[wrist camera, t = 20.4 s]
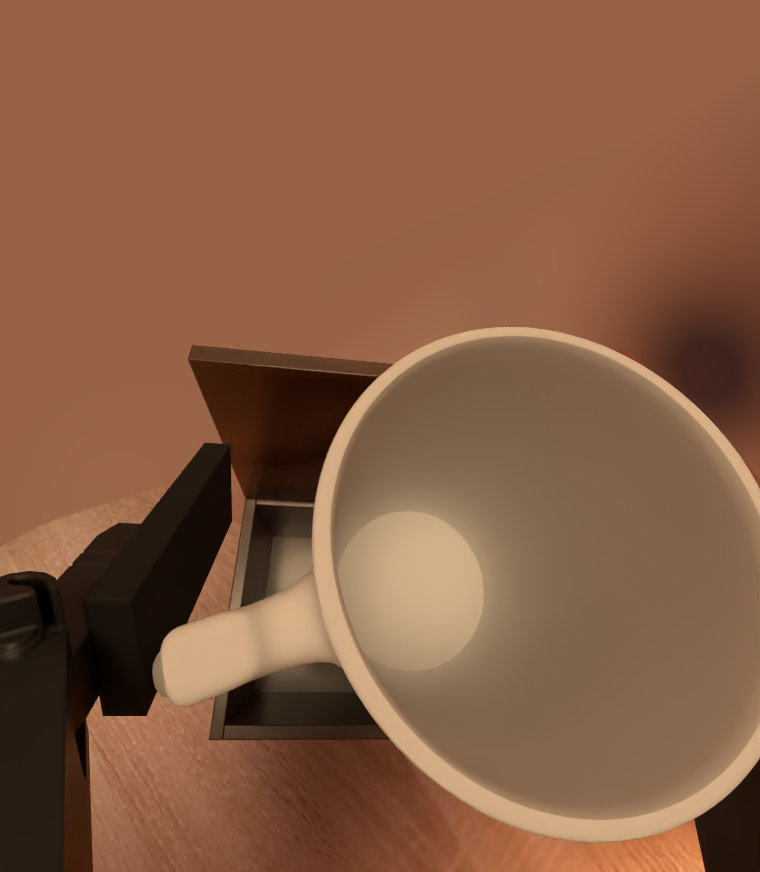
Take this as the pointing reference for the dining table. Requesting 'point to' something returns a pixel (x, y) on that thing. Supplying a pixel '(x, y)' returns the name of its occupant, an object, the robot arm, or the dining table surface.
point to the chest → (297, 686)
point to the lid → (279, 413)
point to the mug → (526, 587)
